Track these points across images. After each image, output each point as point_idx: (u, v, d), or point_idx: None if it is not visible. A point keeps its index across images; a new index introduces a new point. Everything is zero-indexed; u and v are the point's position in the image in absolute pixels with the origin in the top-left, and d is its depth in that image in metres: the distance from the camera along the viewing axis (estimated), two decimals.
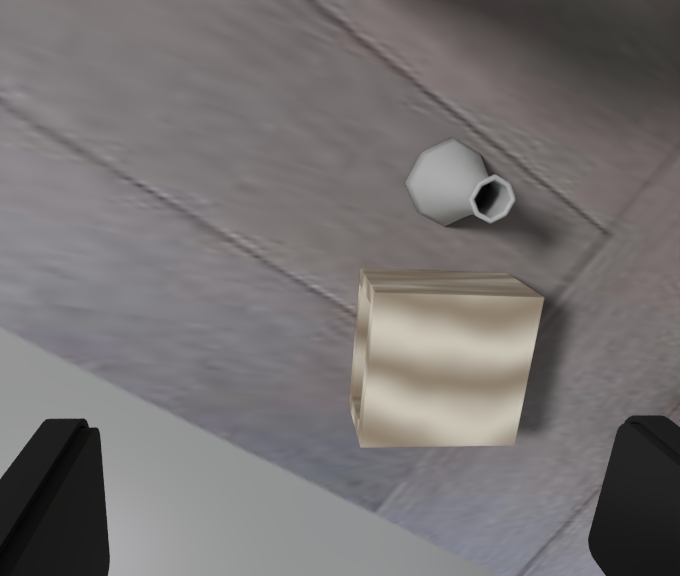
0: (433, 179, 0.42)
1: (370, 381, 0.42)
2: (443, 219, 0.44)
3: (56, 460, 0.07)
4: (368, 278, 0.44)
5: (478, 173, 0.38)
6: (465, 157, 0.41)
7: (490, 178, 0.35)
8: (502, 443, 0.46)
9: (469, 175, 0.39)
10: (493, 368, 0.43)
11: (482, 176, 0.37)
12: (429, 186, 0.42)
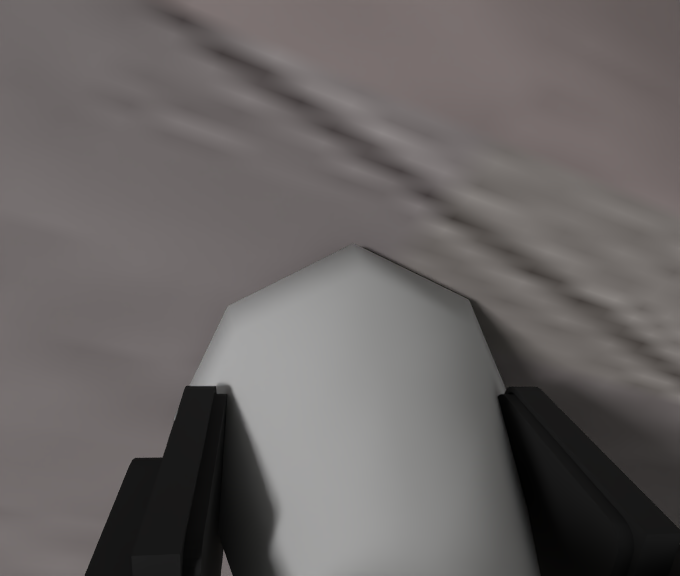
0: (236, 485, 0.08)
1: None
2: None
3: (208, 417, 0.08)
4: None
5: None
6: (387, 399, 0.07)
7: None
8: None
9: None
10: None
11: None
12: (219, 516, 0.08)
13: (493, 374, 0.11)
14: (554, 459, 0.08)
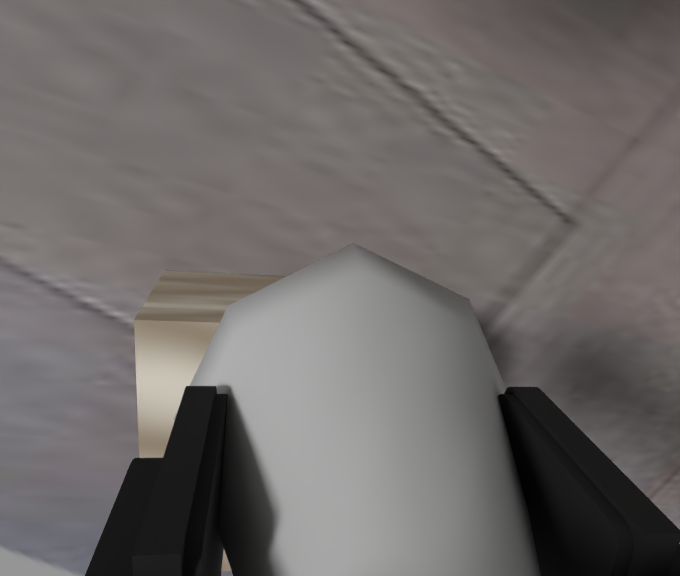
0: (236, 485, 0.08)
1: None
2: None
3: (208, 417, 0.08)
4: (154, 289, 0.25)
5: None
6: (387, 398, 0.07)
7: None
8: None
9: None
10: None
11: None
12: None
13: (493, 374, 0.11)
14: (554, 459, 0.08)
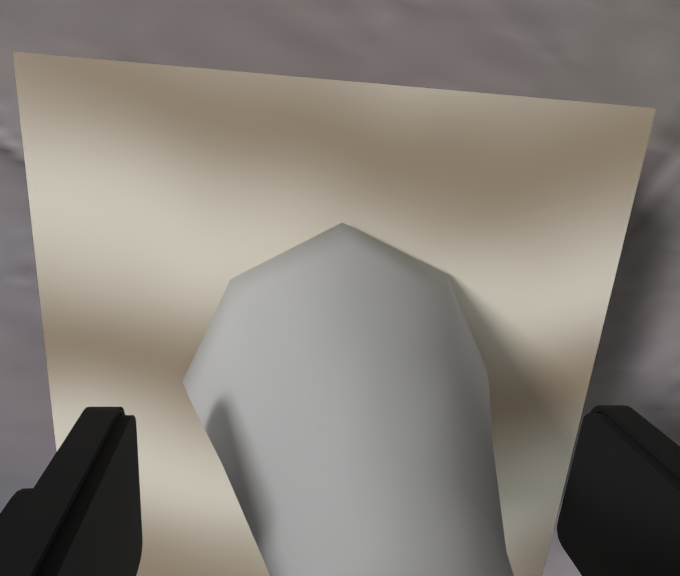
0: (239, 427, 0.10)
1: (63, 398, 0.13)
2: None
3: (100, 444, 0.07)
4: None
5: (407, 533, 0.06)
6: (367, 347, 0.09)
7: None
8: None
9: (358, 517, 0.07)
10: None
11: None
12: (225, 455, 0.10)
13: (467, 339, 0.12)
14: (668, 486, 0.08)
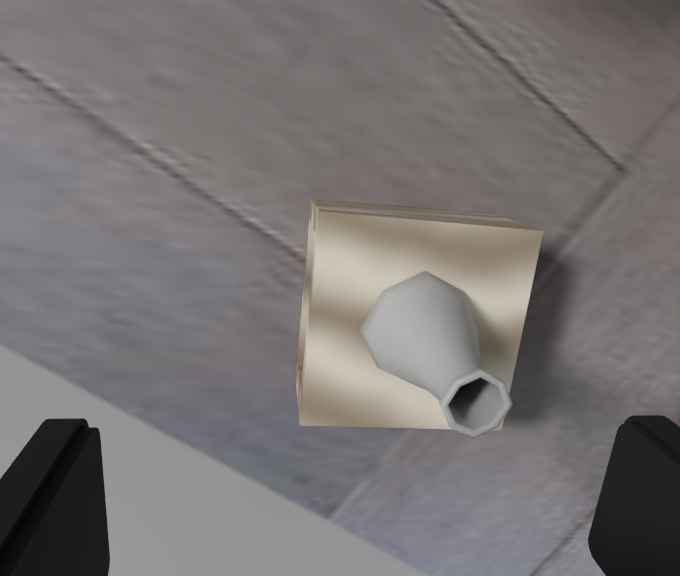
0: (396, 338, 0.29)
1: (312, 335, 0.32)
2: (411, 383, 0.32)
3: (56, 460, 0.07)
4: (316, 203, 0.34)
5: (457, 350, 0.26)
6: (440, 312, 0.28)
7: (473, 376, 0.23)
8: None
9: (444, 350, 0.26)
10: None
11: (462, 359, 0.25)
12: (390, 348, 0.29)
13: (470, 315, 0.32)
14: None
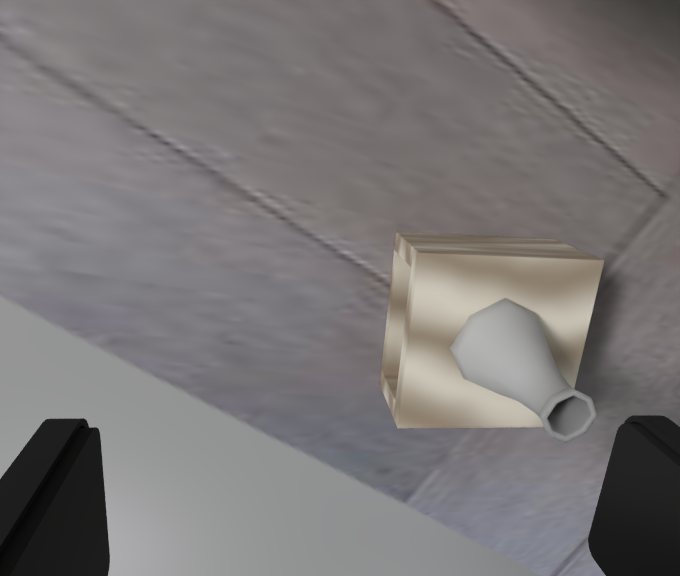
0: (487, 358, 0.35)
1: (410, 354, 0.38)
2: (495, 392, 0.38)
3: (56, 460, 0.07)
4: (406, 240, 0.39)
5: (547, 370, 0.32)
6: (526, 336, 0.34)
7: (567, 394, 0.29)
8: None
9: (534, 370, 0.32)
10: None
11: (553, 378, 0.31)
12: (482, 366, 0.35)
13: None
14: None
